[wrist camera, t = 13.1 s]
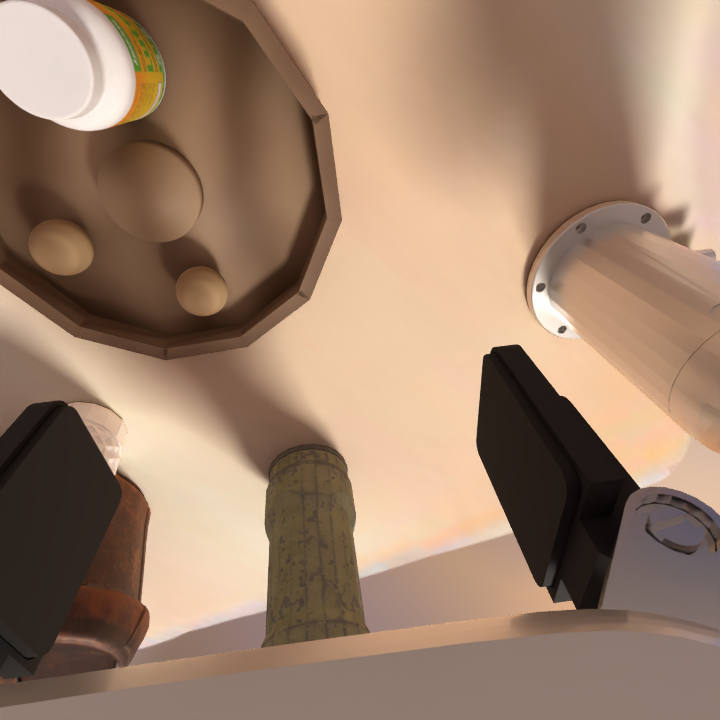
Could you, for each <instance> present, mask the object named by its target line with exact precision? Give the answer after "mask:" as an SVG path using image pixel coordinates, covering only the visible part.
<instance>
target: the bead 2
mask: <svg viewBox="0 0 720 720" xmlns="http://www.w3.org/2000/svg"><path fill="white" fill-rule="evenodd" d="M176 296H177V299H178V301H179V303H180V305H181V306H182V307H183V308H184V309H185V310H186V311H188V312H189V313H191V314H194V315H197V316H209V315H212V314H215V313H217V312H218V311H220V310H221V309H222V308H223V306H224V305H225V303H226V301H227V298H228V288H227V284H226V282H225V280H224V278H223V277H222V276H221V275H220V274H219V273H218V272H217V271H215V270H213V269H211V268H209V267H204V266H197V267H192V268H190V269H188V270H186V271H185V272H183V273H182V274H181V276H180V277H179V279H178V281H177V284H176Z"/></svg>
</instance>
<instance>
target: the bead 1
mask: <svg viewBox="0 0 720 720" xmlns="http://www.w3.org/2000/svg"><path fill="white" fill-rule="evenodd" d="M28 245H29V250H30V253H31V255H32V257H33V259H34V260H35V261H36V262H37V263H38V264H39V265H40V266H41V267H42V268H44V269H45V270H47V271H49V272H51V273H54V274H58V275H66V276H67V275H75V274H78V273H81V272H82V271H84V270H85V269H87V268H88V267H89V266H90V264H91V263H92V261H93V259H94V255H95V249H94V244H93V241H92V239H91V237H90V236H89V234H88V233H87V232H86V231H85V230H84V229H83V228H81V227H80V226H78V225H77V224H75V223H73V222H70V221H67V220H61V219H53V220H47V221H44V222H42V223H40V224H39V225H37V226H36V227H35V228H34V229H33V230H32V232H31V234H30V237H29V241H28Z"/></svg>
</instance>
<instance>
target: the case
mask: <svg viewBox="0 0 720 720" xmlns="http://www.w3.org/2000/svg"><path fill="white" fill-rule="evenodd" d="M115 477H116V479H117V480H118V482H119V484H120V486H121V490H122V497H121V501H120V503H119V506H118V508H117V510H116V512H115V514H114V516H113V518H112V521H111V523H110V525H109V527H108V529H107V531H106V533H105V536H104V538H103V540H102V542H101V544H100V546H99V548H98V551H97V553H96V555H95V557H94V559H93V561H92V563H91V566H90V568H89V570H88V572H87V574H86V576H85V578H84V581H83V583H82V585H81V587H80V589H79V591H78V593H77V596H76V598H75V600H74V602H73V604H72V606H71V608H70V611H69V613H68V615H67V617H66V619H65V621H64V623H63V626H62V628H61V630H60V632H59V634H58V636H57V638H56V641H55V643H54V645H53V646H52V648H51V650H50V651H49V652H48V653H47V654H45V655H44V656H42V658H41V661H40V663H39V665H38V667H37V669H36V671H35V673H34V675H33V676H26V677H19V678H12V679H3V678H2V677H1V676H0V685H4V684H10V683H17V682H24V681H31V680H38V679H45V678H52V677H59V676H66V675H73V674H80V673H86V672H93V671H100V670H107V669H114V668H121V667H127V666H128V665H129V664H130V662H131V660H132V659H133V657H134V655H135V653H136V651H137V649H138V648H139V646H140V644H141V642H142V641H143V639H144V637H145V635H146V632H147V630H148V627H149V618H150V616H149V611H148V609H147V608H146V606H144V605H143V604H142V603H141V595H142V585H143V574H144V563H145V551H146V540H147V531H148V524H149V520H150V508H149V507H148V505H147V502H146V500H145V498H144V497H143V495H142V494H141V493H140V491H139V490H138V489H137V488H135V487H134V486H133V485H132V484H131V483H129V482H128V481H127V480H125V479H124V478H122V477H121V476H119V475H117V474H115Z"/></svg>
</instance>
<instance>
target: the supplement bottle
mask: <svg viewBox="0 0 720 720" xmlns="http://www.w3.org/2000/svg"><path fill="white" fill-rule="evenodd" d="M165 86H166V73H165V67H164V63H163V59H162V57H161V54H160V52H159V50H158V48H157V46H156V44H155V42H154V41H153V39H152V38H151V36H150V35H149V34H148V33H147V31H146V30H145V29H144V28H143V27H142V26H141V25H140V24H139V23H137V22H136V21H135V20H134V19H132V18H131V17H129V16H128V15H126V14H124V13H122V12H120V11H118V10H116V9H113V8H111V7H108V6H106V5H103V4H100V3H98V2H95V1H92V0H6V1H3V2H0V89H1V91H2V92H3V93H4V94H5V95H6V96H7V97H8V98H9V99H10V100H11V101H13V102H14V103H15V104H16V105H17V106H19V107H20V108H22V109H24V110H25V111H27V112H29V113H31V114H33V115H35V116H38V117H41V118H45V119H49V120H52V121H54V122H56V123H57V124H60V125H62V126H65V127H68V128H71V129H76V130H81V131H95V130H103V129H107V128H110V127H114V126H117V125H120V124H123V123H127V122H130V121H134V120H138V119H141V118H143V117H145V116H147V115H149V114H150V113H152V112H153V111H154V110H155V109H156V108H157V107H158V105H159V104H160V102H161V100H162V98H163V95H164V92H165Z"/></svg>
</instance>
